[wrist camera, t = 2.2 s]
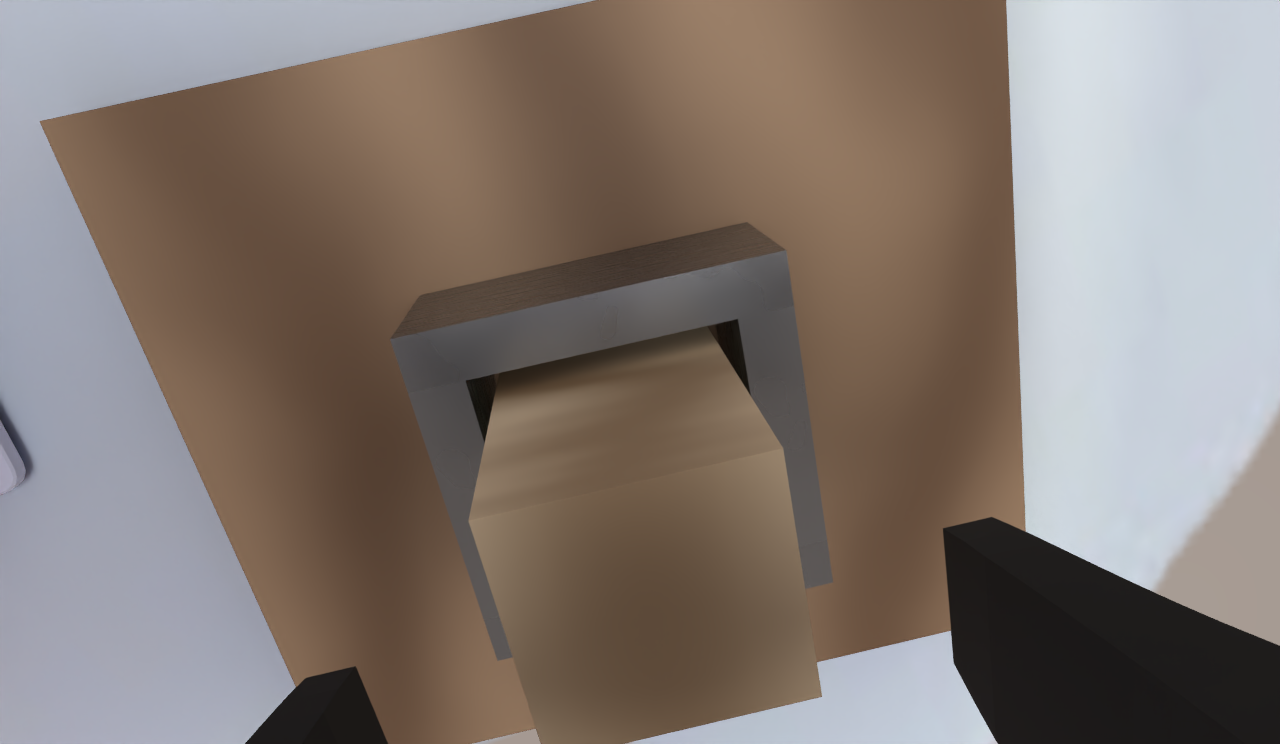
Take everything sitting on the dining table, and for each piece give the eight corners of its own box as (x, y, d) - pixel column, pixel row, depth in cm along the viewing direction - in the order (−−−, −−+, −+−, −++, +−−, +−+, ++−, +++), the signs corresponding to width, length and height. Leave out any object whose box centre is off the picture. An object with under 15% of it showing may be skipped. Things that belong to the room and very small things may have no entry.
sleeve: (512, 590, 19) (504, 680, 16) (419, 295, 16) (389, 338, 13) (794, 525, 19) (835, 602, 16) (746, 221, 16) (786, 250, 13)
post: (549, 515, 18) (544, 765, 11) (501, 345, 16) (463, 518, 10) (727, 474, 18) (826, 698, 11) (695, 301, 16) (786, 443, 10)
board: (348, 738, 21) (335, 775, 20) (77, 118, 15) (39, 121, 14) (1003, 584, 21) (1028, 611, 20) (971, -76, 16) (1003, -89, 15)
